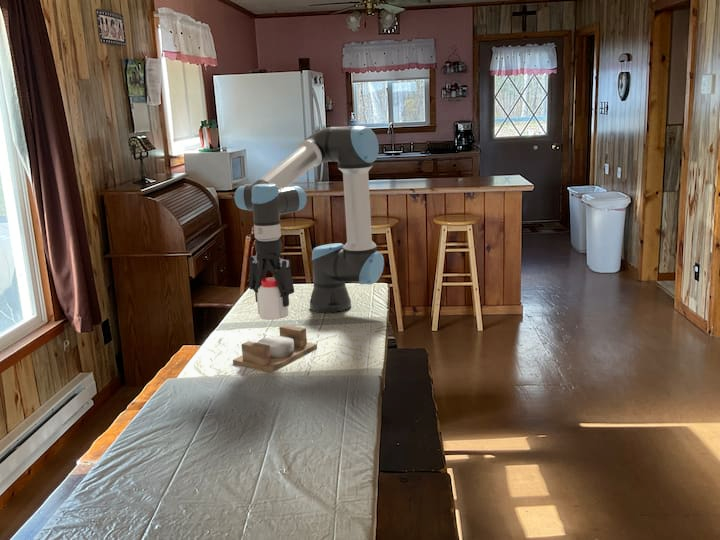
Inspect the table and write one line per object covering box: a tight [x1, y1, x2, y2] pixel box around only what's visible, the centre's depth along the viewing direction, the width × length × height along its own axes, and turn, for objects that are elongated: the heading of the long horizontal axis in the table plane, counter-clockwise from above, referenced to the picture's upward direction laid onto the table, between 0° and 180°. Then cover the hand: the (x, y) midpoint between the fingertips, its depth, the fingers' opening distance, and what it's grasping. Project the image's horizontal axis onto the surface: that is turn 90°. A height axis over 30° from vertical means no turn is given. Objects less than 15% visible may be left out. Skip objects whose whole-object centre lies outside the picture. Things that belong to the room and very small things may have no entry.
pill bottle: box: [258, 276, 285, 321], centre depth 198 cm, size 8×8×11 cm
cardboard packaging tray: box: [232, 324, 318, 373], centre depth 202 cm, size 22×14×6 cm, turn 147°
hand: (273, 314), depth 200 cm, fingers closed on pill bottle, 8 cm apart
